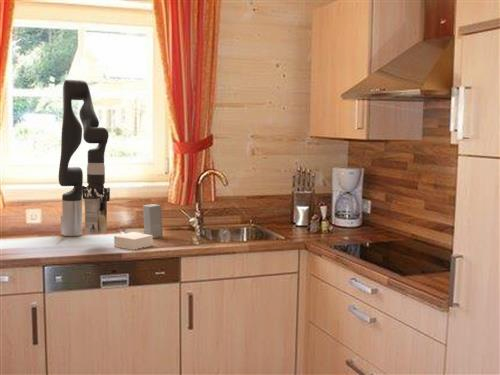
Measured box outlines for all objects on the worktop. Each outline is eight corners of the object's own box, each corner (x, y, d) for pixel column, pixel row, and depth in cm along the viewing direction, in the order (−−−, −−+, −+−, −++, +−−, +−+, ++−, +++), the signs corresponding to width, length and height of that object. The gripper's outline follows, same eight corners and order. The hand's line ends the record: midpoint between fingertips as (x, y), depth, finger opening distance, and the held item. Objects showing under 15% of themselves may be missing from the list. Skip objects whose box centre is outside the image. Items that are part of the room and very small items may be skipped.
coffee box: (94, 229, 262) (94, 194, 260) (107, 230, 260) (107, 195, 259) (84, 233, 253) (84, 197, 251) (97, 234, 251) (97, 198, 250)
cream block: (114, 247, 259) (114, 236, 259) (133, 242, 269) (133, 232, 269) (134, 250, 253) (134, 239, 253) (152, 246, 263) (152, 235, 263)
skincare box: (163, 237, 282) (163, 205, 280) (149, 238, 278) (149, 206, 276) (155, 234, 289) (155, 203, 287) (142, 236, 285) (142, 204, 283)
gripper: (77, 172, 253) (77, 209, 255) (102, 174, 247) (102, 212, 249) (89, 171, 260) (89, 207, 262) (114, 173, 254) (114, 210, 255)
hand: (95, 210), depth 255 cm, fingers closed on coffee box, 7 cm apart
